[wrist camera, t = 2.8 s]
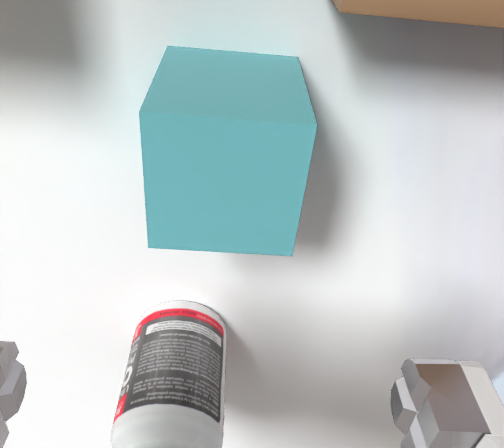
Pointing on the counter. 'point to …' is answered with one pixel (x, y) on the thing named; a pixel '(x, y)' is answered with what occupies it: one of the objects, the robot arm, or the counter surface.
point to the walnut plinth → (431, 10)
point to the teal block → (226, 151)
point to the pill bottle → (173, 380)
